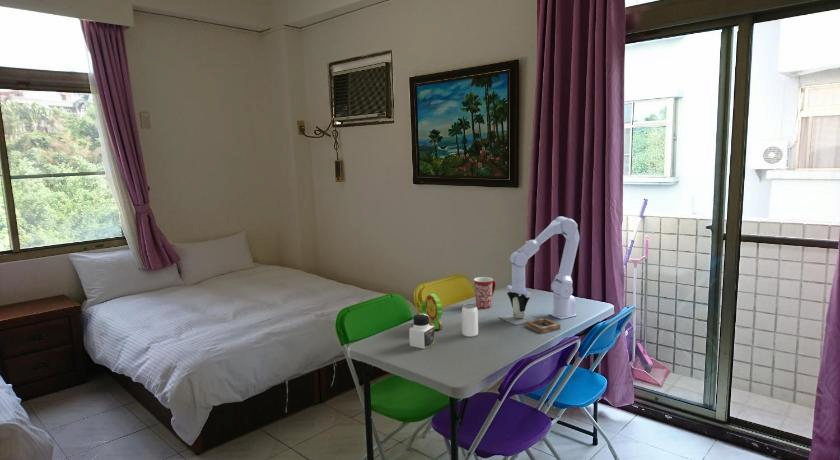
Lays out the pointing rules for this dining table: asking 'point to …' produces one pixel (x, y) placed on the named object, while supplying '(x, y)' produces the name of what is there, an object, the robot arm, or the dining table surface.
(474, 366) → the dining table surface
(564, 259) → the robot arm
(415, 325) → the medicine bottle
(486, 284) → the mug
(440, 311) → the toy lion
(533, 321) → the frame
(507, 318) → the mat
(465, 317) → the can
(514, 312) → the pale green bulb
